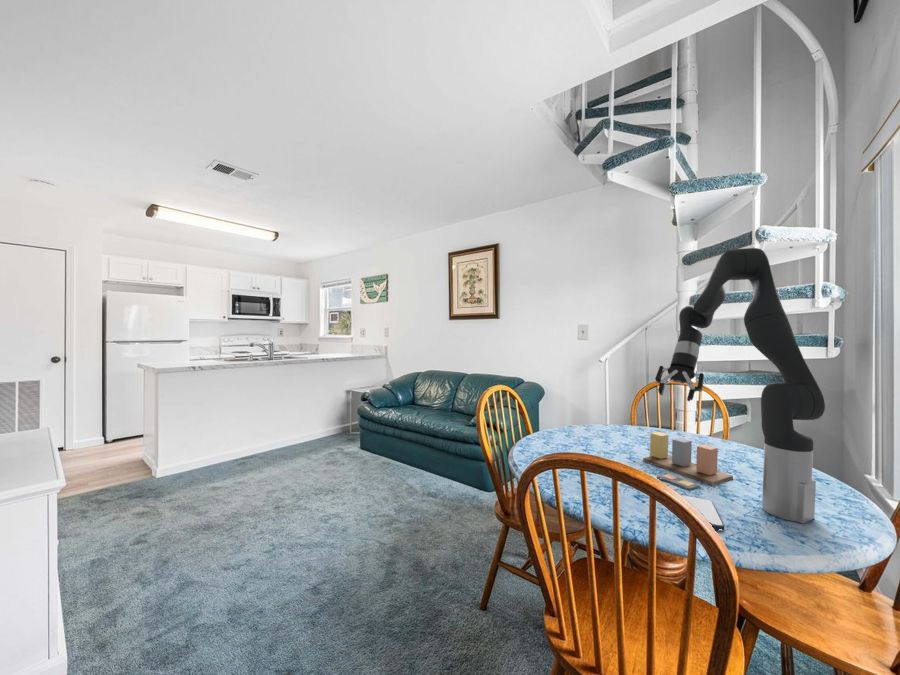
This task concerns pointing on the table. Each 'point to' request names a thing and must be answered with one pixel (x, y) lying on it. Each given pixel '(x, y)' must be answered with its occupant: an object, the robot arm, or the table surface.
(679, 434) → the table surface
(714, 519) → the phone case
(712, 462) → the salmon pink block
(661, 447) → the yellow tall block
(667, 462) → the keypad base
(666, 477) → the card
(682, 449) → the grey rectangular block
